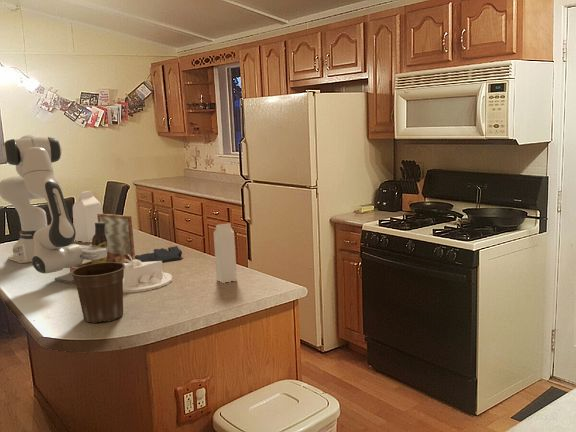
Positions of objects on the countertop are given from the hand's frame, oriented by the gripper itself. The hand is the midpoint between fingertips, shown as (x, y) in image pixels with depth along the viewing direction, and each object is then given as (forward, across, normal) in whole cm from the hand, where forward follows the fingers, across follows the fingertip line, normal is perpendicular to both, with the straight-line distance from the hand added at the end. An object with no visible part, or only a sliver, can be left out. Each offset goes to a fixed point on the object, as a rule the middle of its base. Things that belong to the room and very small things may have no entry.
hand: (100, 247), depth 237 cm
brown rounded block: (+4, -6, +10) cm, 12 cm away
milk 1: (+40, +57, +10) cm, 70 cm away
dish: (-7, -29, +10) cm, 32 cm away
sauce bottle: (-2, 0, +9) cm, 9 cm away
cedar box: (0, 0, +10) cm, 10 cm away
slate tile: (-15, 0, +10) cm, 18 cm away
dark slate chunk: (+22, -10, +10) cm, 27 cm away
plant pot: (-40, -47, +9) cm, 63 cm away
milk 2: (+9, -59, +9) cm, 61 cm away
